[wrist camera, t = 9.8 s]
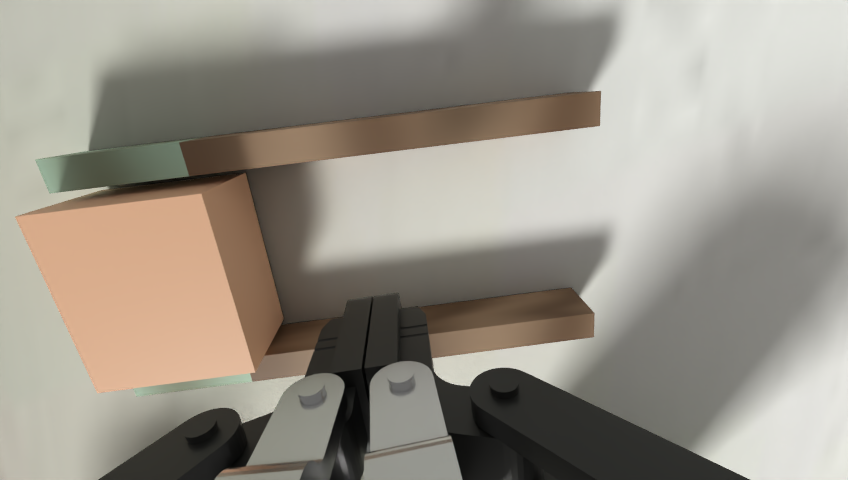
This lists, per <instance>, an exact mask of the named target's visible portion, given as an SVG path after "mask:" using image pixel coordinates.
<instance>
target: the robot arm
mask: <svg viewBox="0 0 848 480" xmlns="http://www.w3.org/2000/svg"><path fill="white" fill-rule="evenodd" d="M314 350H315V351H314V352H313V355H312V357H311V360H310V363H309V366H308V369H307V372H306V375H305V378H302V379H300V380H298V381H297V382H295V383H294V384H292V385H291V386H290V387H289V388H288V389H287V390H286V391H285V392H284V393H283V395H282V396H281V398H280V400H279V402H278V404H277V406H276V408H275V410H274V412H272V413H269V414H267V415H264V416H262V417H259V418H256V419H254V420H251V421H248V422H245V423H243V424H242V422H241V419H240V417H239V414H238V413H237V412H236V411H235V410H232V409H229V408H218V409H213V410H209V411H206V412H203V413H201V414H198V415H196V416H194V417H192V418H191V419H189V420H187V421H186V422H184V423H183V424H181V425H180V426H178V427H177V428H175V429H174V430H172V431H171V432H169V433H168V434H166V435H165V436H163V437H162V438H160V439H159V440H157V441H156V442H154V443H153V444H151V445H150V446H148V447H147V448H145V449H144V450H142V451H141V452H139V453H138V454H136V455H135V456H133V457H132V458H130V459H129V460H127V461H126V462H124V463H123V464H121V465H120V466H118V467H117V468H115V469H114V470H112V471H111V472H109V473H108V474H106V475H105V476H103V477H102V478H100V479H99V480H750V479H747V478H745V477H743V476H741V475H739V474H737V473H735V472H733V471H731V470H729V469H726V468H724V467H722V466H720V465H718V464H716V463H714V462H712V461H710V460H708V459H706V458H703V457H701V456H699V455H697V454H695V453H693V452H691V451H689V450H687V449H685V448H682V447H680V446H678V445H676V444H674V443H672V442H670V441H668V440H666V439H664V438H662V437H659V436H657V435H655V434H653V433H651V432H649V431H647V430H645V429H643V428H641V427H638V426H636V425H634V424H632V423H630V422H628V421H626V420H624V419H622V418H620V417H618V416H615V415H613V414H611V413H609V412H607V411H605V410H603V409H601V408H599V407H597V406H594V405H592V404H590V403H588V402H586V401H584V400H582V399H580V398H578V397H576V396H573V395H571V394H569V393H567V392H565V391H563V390H561V389H559V388H557V387H555V386H553V385H550V384H548V383H546V382H544V381H542V380H540V379H538V378H536V377H534V376H532V375H529V374H527V373H525V372H523V371H520V370H517V369H512V368H496V369H491V370H488V371H485V372H483V373H481V374H480V375H478V376H477V377H476V378H475V379H474V380H473V382H472V383H471V385H470V386H460V385H454V384H450V383H448V382H445V381H444V380H442V379H440V378H439V377H438V376H437V375H436V374H435V372H434V368H433V360H432V353H431V346H430V339H429V332H428V326H427V319H426V314H425V313H424V312H423V311H422V310H421V309H420V308H419V307H418V306H416V307H409V308H403V309H401V303H400V297H399V293H393V294H386V295H379V296H374V298H373V297H366V298H359V299H352V300H348V301H347V305H346V308H345V312H344V316H343V317H341V318H334V319H331V320H330V321H329V322H328V323H327V324H326V325H325V326H324V327H323V328H322V329H321V332H320V335H319V337H318V342H317V343H316V346H315V349H314Z"/></svg>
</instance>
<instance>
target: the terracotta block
mask: <svg viewBox="0 0 848 480" xmlns="http://www.w3.org/2000/svg"><path fill="white" fill-rule="evenodd" d="M15 218H16V220H17V222H18V224H19V226H20V228H21V230H22V233H23V235H24V237H25V239H26V241H27V243H28V245H29V248H30V250H31V252H32V254H33V256H34V258H35V260H36V263H37V265H38V267H39V269H40V271H41V273H42V275H43V278H44V280H45V282H46V284H47V286H48V288H49V290H50V293H51V295H52V297H53V299H54V301H55V303H56V305H57V308H58V310H59V312H60V314H61V316H62V318H63V320H64V323H65V325H66V327H67V329H68V331H69V333H70V335H71V338H72V340H73V342H74V344H75V346H76V348H77V350H78V353H79V355H80V357H81V359H82V361H83V363H84V365H85V368H86V370H87V372H88V374H89V376H90V378H91V380H92V383H93V385H94V387H95V389H96V391H97V393H102V392H110V391H117V390H125V389H133V388H140V387H148V386H156V385H164V384H171V383H179V382H187V381H194V380H202V379H210V378H217V377H225V376H233V375H240V374H248V373H255V372H256V370H257V369H258V367H259V365H260V363H261V361H262V359H263V357H264V355H265V353H266V352H267V350H268V348H269V346H270V344H271V342H272V340H273V338H274V336H275V335H276V333H277V331H278V329H279V327H280V325H281V323H282V321H283V319H284V318H283V314H282V310H281V307H280V303H279V299H278V295H277V291H276V287H275V284H274V280H273V276H272V272H271V268H270V264H269V261H268V257H267V253H266V249H265V245H264V241H263V238H262V234H261V230H260V226H259V222H258V218H257V215H256V211H255V207H254V203H253V199H252V195H251V192H250V188H249V184H248V180H247V176H246V173H238V174H230V175H222V176H214V177H206V178H198V179H189V180H181V181H173V182H165V183H157V184H149V185H141V186H132V187H124V188H116V189H108V190H101V191H97V192H94V193H91V194H88V195H84V196H81V197H78V198H74V199H71V200H68V201H65V202H61V203H58V204H55V205H52V206H48V207H45V208H42V209H38V210H35V211H32V212H29V213H25V214H22V215H19V216H16V217H15Z"/></svg>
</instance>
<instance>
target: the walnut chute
mask: <svg viewBox="0 0 848 480" xmlns="http://www.w3.org/2000/svg"><path fill="white" fill-rule="evenodd" d="M600 104H601V91H592V92H571V93H562V94H554V95H546V96H538V97H529V98H521V99H513V100H505V101H496V102H488V103H480V104H472V105H463V106H455V107H447V108H439V109H430V110H422V111H414V112H406V113H398V114H389V115H381V116H373V117H365V118H356V119H348V120H340V121H332V122H323V123H315V124H307V125H299V126H290V127H282V128H274V129H266V130H257V131H249V132H241V133H233V134H224V135H216V136H208V137H200V138H192V139H183V140H175V141H167V142H159V143H150V144H142V145H134V146H126V147H117V148H109V149H101V150H93V151H85V152H79V153H73V154H67V155H61V156H55V157H49V158H43V159H37V160H36V163H37V165H38V167H39V170H40V172H41V174H42V177H43V179H44V181H45V184H46V186H47V188H48V191H49V193H57V192H65V191H73V190H81V189H89V188H98V187H106V186H114V185H122V184H130V183H138V182H147V181H155V180H163V179H171V178H179V177H187V176H195V175H204V174H212V173H220V172H228V171H236V170H244V169H252V168H261V167H269V166H277V165H285V164H293V163H301V162H310V161H318V160H326V159H334V158H342V157H350V156H358V155H367V154H375V153H383V152H391V151H399V150H407V149H415V148H424V147H432V146H440V145H448V144H456V143H464V142H473V141H481V140H489V139H497V138H505V137H513V136H521V135H530V134H538V133H546V132H554V131H562V130H570V129H578V128H587V127H595V126H600ZM419 308H420V309H421V310H422V311H423V312H424V313H425V314H426V319H427V326H428V332H429V339H430V346H431V353H432V358H437V357H445V356H452V355H460V354H468V353H475V352H483V351H491V350H498V349H506V348H514V347H521V346H529V345H537V344H544V343H552V342H560V341H567V340H575V339H583V338H590V337H594V312H593V311H592V310H591V309H590V308H589V307H588V305H587V304H586V303H585V302H584V301H583V300H582V299H581V298H580V297H579V296H578V294H577V293H576V292H575V291H574V290H573V289H572V288H564V289H556V290H549V291H541V292H533V293H525V294H517V295H510V296H502V297H494V298H486V299H479V300H471V301H463V302H455V303H447V304H440V305H432V306H424V307H419ZM338 318H341V317H338ZM331 319H334V318H331ZM331 319H323V320H315V321H307V322H300V323H292V324H284V325H280V327H279V329H278V331H277V333H276V335H275V336H274V338H273V340H272V342H271V344H270V346H269V348H268V350H267V352H266V353H265V355H264V357H263V359H262V361H261V363H260V365H259V367H258V369H257V370H256V372H255V373H248V374H240V375H233V376H225V377H217V378H210V379H202V380H194V381H187V382H179V383H171V384H164V385H156V386H148V387H140V388H133V389H134V391H135V394H136V396H137V397H138V396H146V395H153V394H161V393H169V392H176V391H184V390H192V389H199V388H207V387H215V386H222V385H230V384H238V383H245V382H253V381H261V380H268V379H276V378H284V377H291V376H299V375H306V372H307V369H308V366H309V363H310V360H311V357H312V355H313V352H314V351H315V350H314V349H315V346H316V343H317V342H318V337H319V335H320V332H321V329H322V328H323V327H324V326H325V325H326V324H327V323H328V322H329V321H330V320H331Z"/></svg>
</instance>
